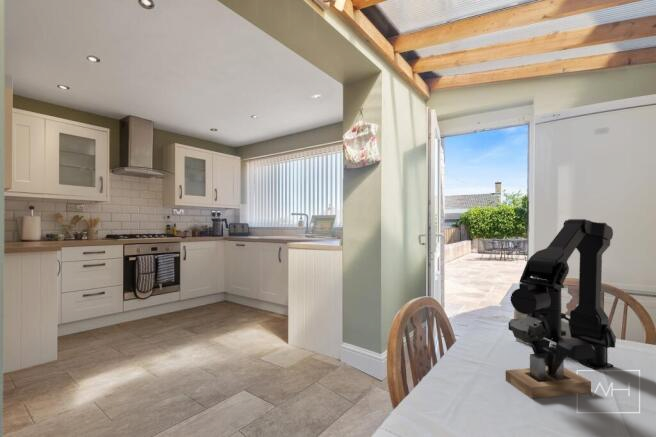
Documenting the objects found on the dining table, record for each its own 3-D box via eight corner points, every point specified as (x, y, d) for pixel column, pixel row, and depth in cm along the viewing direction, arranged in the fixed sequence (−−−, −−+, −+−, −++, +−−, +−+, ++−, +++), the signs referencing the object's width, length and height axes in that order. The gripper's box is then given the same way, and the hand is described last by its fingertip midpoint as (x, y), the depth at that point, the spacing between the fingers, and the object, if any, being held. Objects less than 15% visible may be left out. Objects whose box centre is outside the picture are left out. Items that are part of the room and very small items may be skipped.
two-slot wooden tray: (559, 374, 80) (559, 365, 80) (591, 391, 72) (591, 381, 72) (505, 380, 77) (505, 370, 77) (531, 398, 69) (531, 387, 69)
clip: (554, 376, 76) (554, 352, 76) (563, 381, 74) (563, 356, 74) (529, 378, 75) (529, 354, 75) (538, 383, 72) (538, 358, 72)
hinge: (584, 340, 102) (579, 313, 101) (577, 347, 100) (571, 320, 99) (533, 324, 117) (527, 301, 116) (526, 330, 116) (520, 307, 114)
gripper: (490, 299, 82) (490, 357, 82) (552, 322, 64) (552, 396, 64) (526, 297, 84) (526, 353, 84) (596, 319, 66) (597, 391, 66)
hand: (546, 371), depth 74 cm, fingers closed on clip, 2 cm apart
